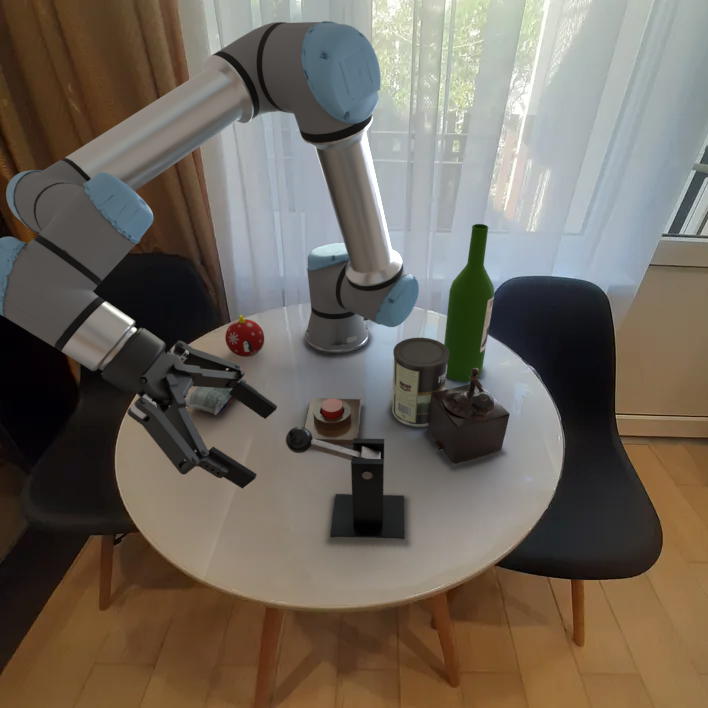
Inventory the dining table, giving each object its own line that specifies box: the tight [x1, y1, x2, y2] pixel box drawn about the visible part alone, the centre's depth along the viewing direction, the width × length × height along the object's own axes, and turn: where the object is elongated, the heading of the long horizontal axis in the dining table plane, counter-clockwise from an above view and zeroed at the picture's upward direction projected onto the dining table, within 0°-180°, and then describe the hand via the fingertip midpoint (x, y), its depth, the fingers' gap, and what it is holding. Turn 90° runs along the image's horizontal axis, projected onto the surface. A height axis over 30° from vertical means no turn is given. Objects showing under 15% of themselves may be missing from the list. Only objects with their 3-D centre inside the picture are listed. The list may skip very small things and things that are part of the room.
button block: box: [303, 397, 362, 446], centre depth 92 cm, size 12×10×4 cm
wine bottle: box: [443, 223, 495, 383], centre depth 100 cm, size 9×9×32 cm
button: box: [321, 398, 343, 419], centre depth 91 cm, size 4×4×2 cm
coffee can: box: [391, 337, 449, 428], centre depth 93 cm, size 10×10×14 cm
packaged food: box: [185, 378, 248, 416], centre depth 97 cm, size 9×12×5 cm
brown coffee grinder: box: [426, 368, 510, 465], centre depth 83 cm, size 16×11×18 cm
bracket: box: [329, 437, 406, 539], centre depth 71 cm, size 11×8×15 cm
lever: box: [285, 426, 381, 461], centre depth 67 cm, size 13×4×4 cm, turn 89°
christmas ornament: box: [224, 314, 265, 358], centre depth 111 cm, size 9×9×10 cm
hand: (261, 444), depth 67 cm, fingers open, 13 cm apart
